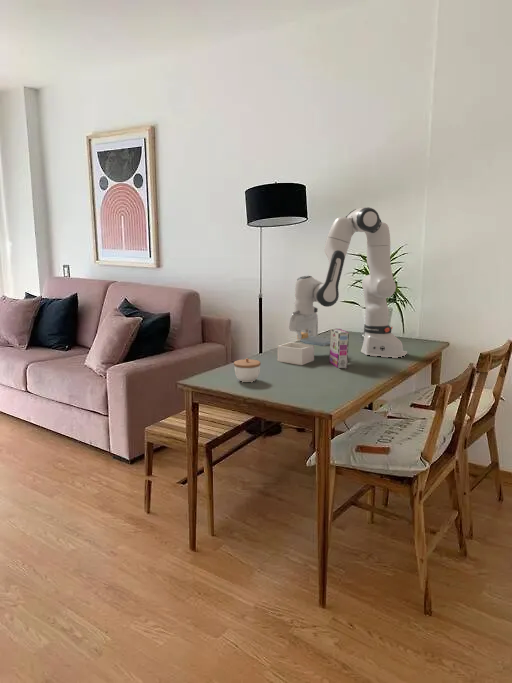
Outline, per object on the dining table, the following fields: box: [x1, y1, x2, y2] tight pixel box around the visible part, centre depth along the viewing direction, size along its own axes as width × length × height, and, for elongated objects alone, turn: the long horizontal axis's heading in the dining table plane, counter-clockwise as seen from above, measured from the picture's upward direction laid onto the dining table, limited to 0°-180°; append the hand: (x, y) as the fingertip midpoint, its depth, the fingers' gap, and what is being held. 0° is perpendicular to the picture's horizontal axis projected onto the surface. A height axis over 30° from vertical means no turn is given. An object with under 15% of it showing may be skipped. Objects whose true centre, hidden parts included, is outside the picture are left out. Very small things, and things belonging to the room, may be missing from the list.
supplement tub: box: [302, 314, 319, 337], centre depth 294 cm, size 10×10×15 cm
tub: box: [276, 341, 315, 366], centre depth 246 cm, size 13×11×8 cm
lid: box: [296, 332, 330, 347], centre depth 255 cm, size 17×11×4 cm, turn 54°
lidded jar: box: [233, 357, 261, 383], centre depth 215 cm, size 11×11×9 cm
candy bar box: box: [329, 328, 350, 370], centre depth 237 cm, size 11×5×16 cm, turn 12°
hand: (302, 338), depth 258 cm, fingers closed on lid, 3 cm apart
